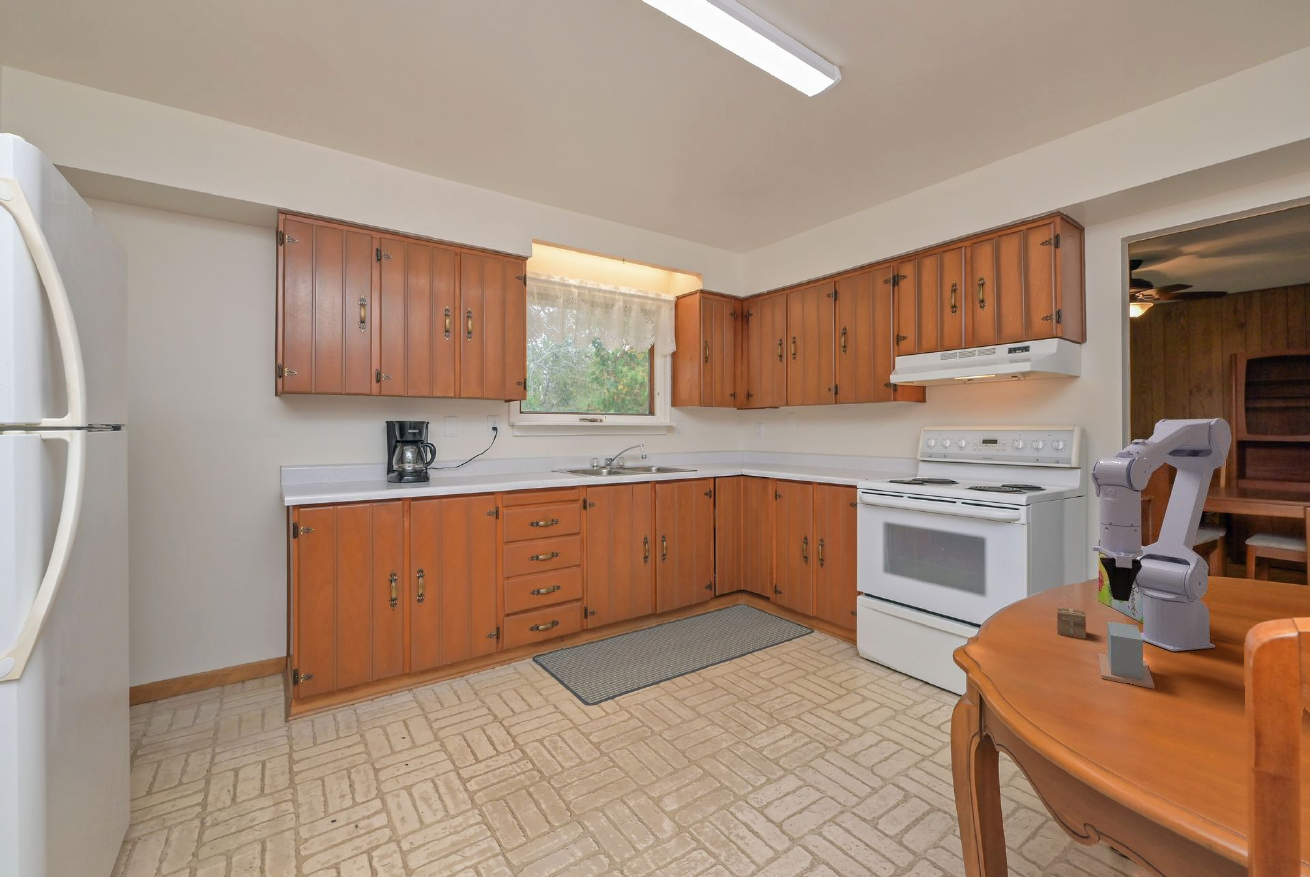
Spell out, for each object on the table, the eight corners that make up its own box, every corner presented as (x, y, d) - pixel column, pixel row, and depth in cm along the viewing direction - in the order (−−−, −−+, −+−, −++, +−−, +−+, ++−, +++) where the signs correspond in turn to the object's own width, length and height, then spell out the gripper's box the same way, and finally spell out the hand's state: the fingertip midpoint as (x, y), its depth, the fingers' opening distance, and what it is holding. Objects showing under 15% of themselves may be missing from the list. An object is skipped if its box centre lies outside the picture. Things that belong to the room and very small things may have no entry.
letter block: (1057, 627, 115) (1057, 605, 115) (1085, 632, 112) (1084, 609, 112) (1057, 634, 111) (1057, 611, 111) (1085, 639, 109) (1085, 616, 109)
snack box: (1189, 634, 110) (1189, 558, 110) (1157, 632, 112) (1156, 557, 111) (1123, 601, 131) (1122, 538, 131) (1096, 600, 132) (1095, 537, 132)
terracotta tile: (1098, 656, 100) (1098, 652, 100) (1145, 664, 97) (1145, 660, 97) (1101, 678, 92) (1101, 674, 92) (1154, 688, 88) (1154, 684, 88)
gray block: (1111, 674, 92) (1110, 635, 92) (1107, 657, 98) (1107, 621, 98) (1143, 680, 89) (1142, 640, 89) (1137, 663, 96) (1137, 625, 96)
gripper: (1090, 517, 108) (1090, 586, 108) (1093, 528, 96) (1094, 606, 96) (1138, 519, 104) (1138, 592, 104) (1147, 531, 92) (1148, 613, 92)
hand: (1120, 599), depth 100 cm, fingers closed
